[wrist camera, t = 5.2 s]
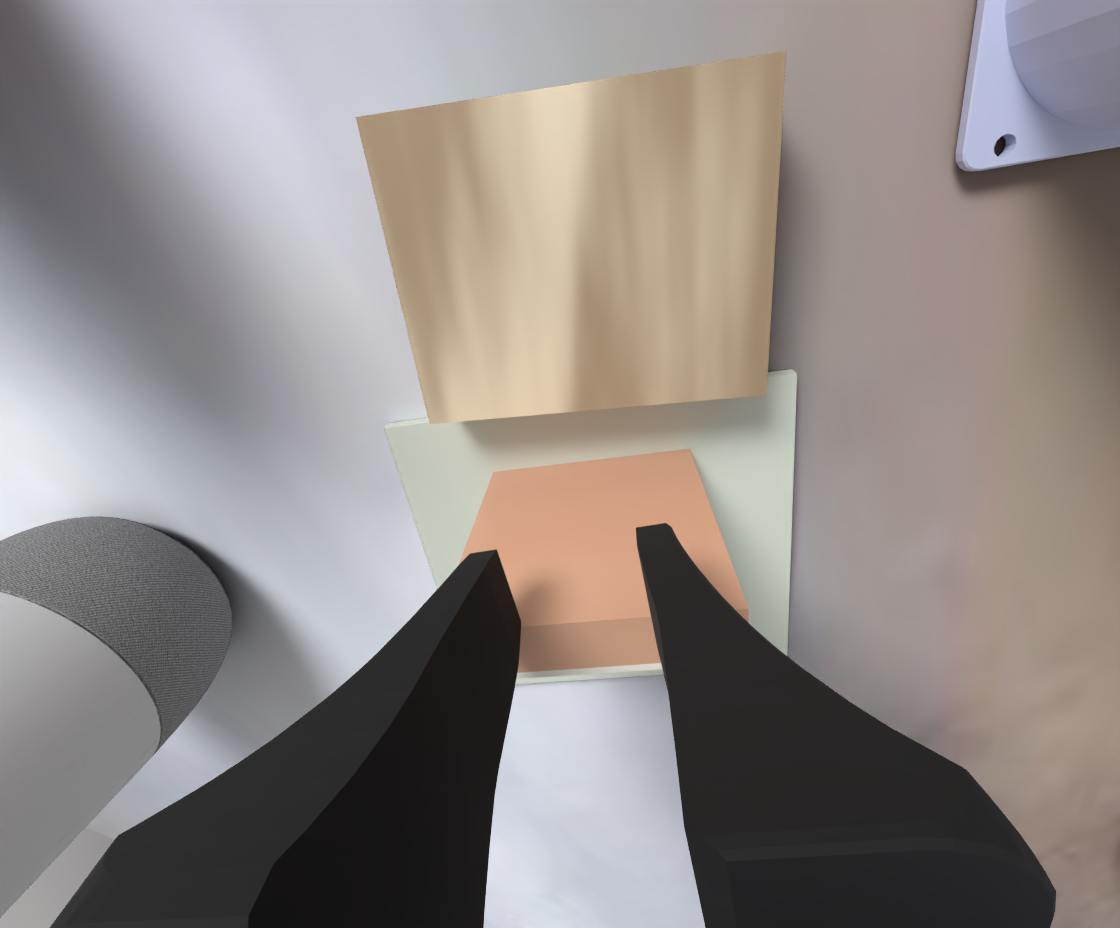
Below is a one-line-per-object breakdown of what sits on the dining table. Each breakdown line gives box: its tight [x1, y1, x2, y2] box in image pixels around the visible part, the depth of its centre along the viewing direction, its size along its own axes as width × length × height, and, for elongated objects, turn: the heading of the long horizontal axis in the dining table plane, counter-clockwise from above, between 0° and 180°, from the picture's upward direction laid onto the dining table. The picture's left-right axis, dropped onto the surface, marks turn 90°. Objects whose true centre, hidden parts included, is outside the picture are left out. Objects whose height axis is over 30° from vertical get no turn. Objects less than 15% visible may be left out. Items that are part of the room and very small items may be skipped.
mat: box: [384, 369, 797, 684], centre depth 21 cm, size 14×13×1 cm
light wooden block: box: [356, 51, 786, 424], centre depth 15 cm, size 3×8×10 cm
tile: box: [459, 449, 749, 679], centre depth 16 cm, size 7×2×8 cm, turn 99°
